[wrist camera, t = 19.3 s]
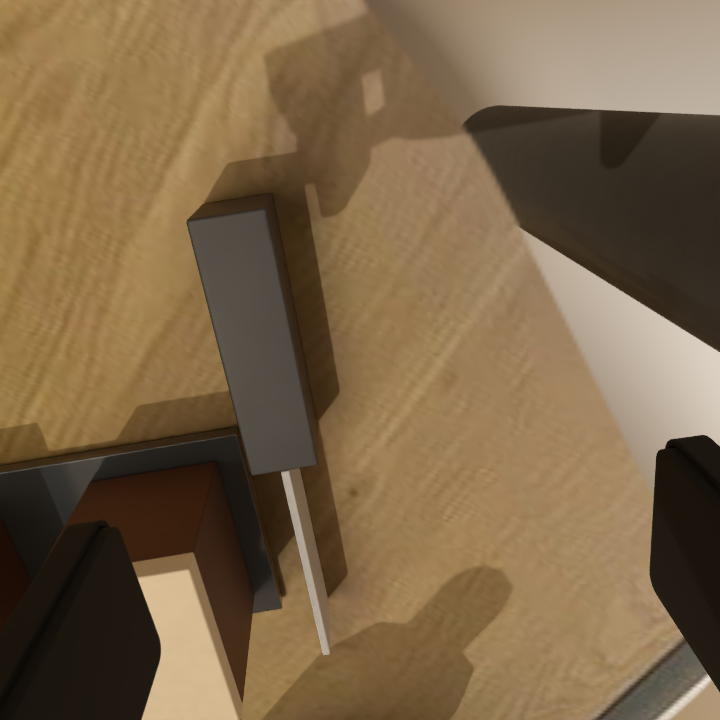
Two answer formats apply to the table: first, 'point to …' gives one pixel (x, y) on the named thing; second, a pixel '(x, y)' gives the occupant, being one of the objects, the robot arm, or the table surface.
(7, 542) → the cake slice
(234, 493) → the board
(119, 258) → the table surface
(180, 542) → the cake
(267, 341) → the knife
